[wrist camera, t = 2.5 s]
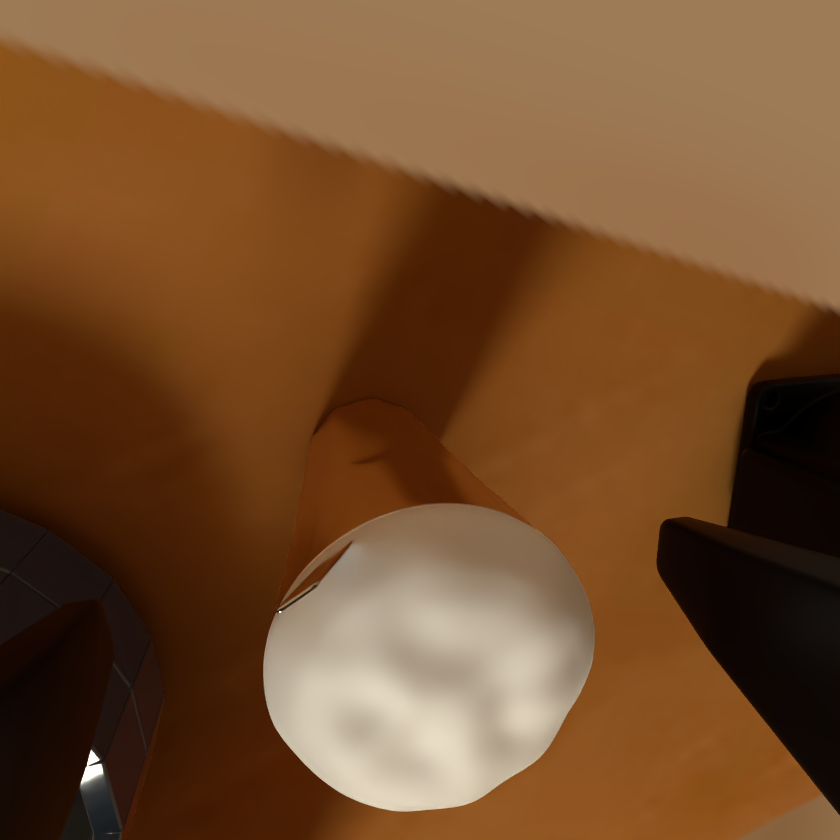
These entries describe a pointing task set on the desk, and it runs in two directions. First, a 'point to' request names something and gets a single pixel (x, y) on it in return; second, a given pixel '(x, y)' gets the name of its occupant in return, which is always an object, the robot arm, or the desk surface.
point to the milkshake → (417, 622)
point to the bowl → (128, 683)
